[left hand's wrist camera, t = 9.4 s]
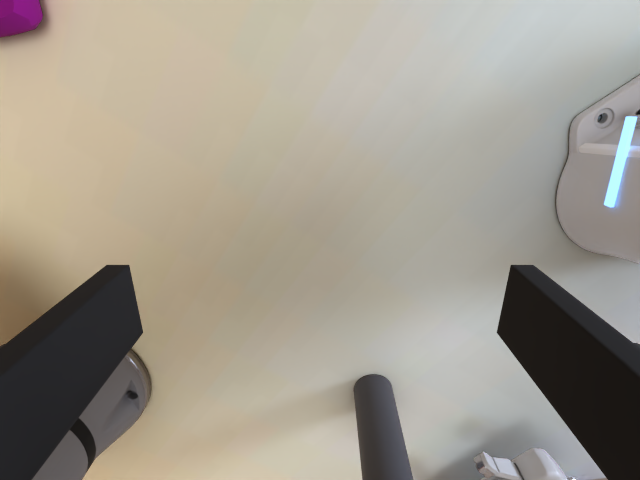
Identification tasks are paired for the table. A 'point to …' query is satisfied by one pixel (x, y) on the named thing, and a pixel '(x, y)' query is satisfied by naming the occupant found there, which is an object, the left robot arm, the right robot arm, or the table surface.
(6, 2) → the spray bottle
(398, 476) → the jar
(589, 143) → the right robot arm
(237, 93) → the table surface
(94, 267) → the table surface
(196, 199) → the table surface
